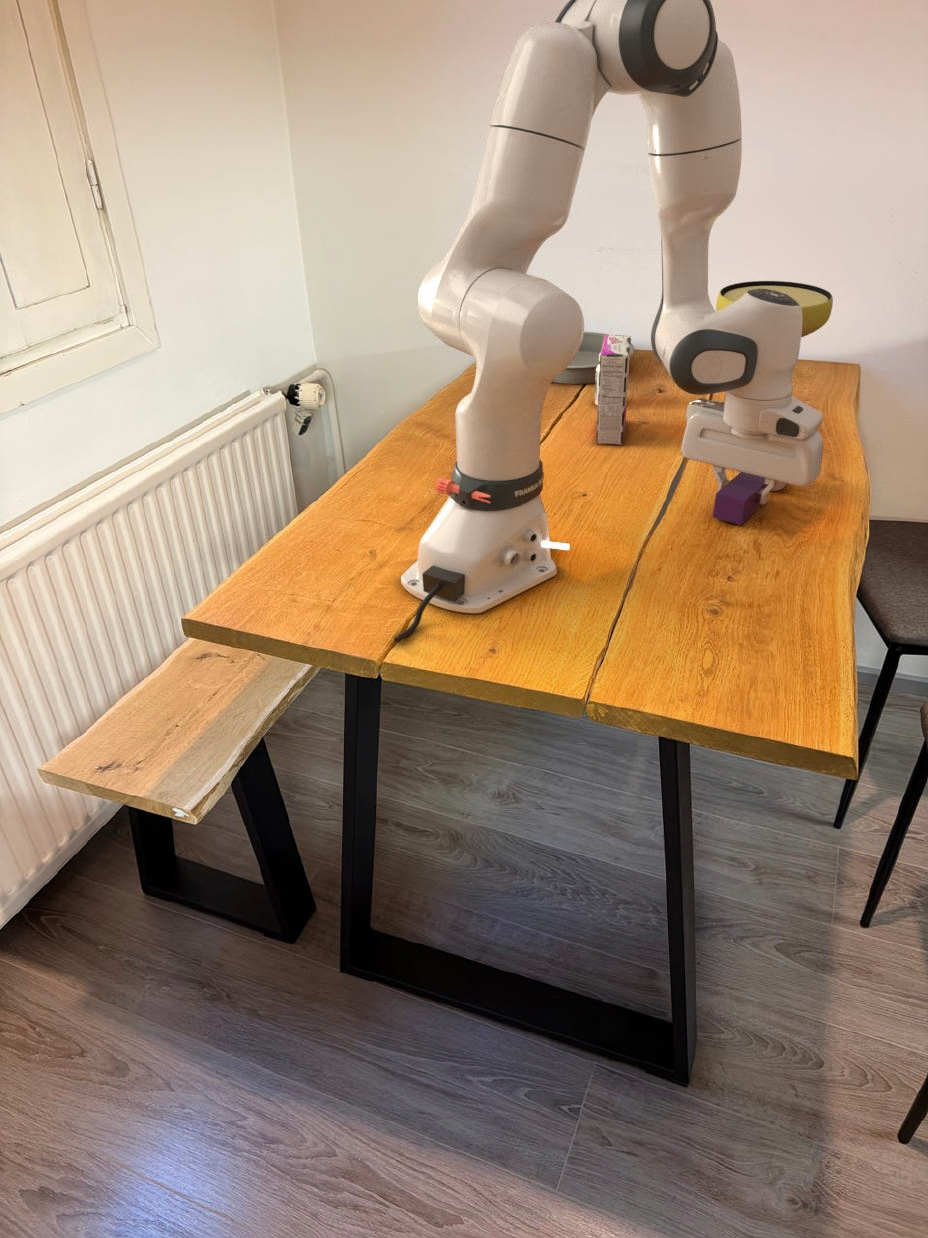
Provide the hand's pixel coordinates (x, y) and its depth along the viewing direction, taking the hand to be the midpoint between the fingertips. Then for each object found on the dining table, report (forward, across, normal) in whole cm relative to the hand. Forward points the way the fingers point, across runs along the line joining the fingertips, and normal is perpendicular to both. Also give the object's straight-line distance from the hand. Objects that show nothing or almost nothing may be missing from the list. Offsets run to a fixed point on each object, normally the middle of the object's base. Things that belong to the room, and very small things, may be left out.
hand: (742, 497), depth 134 cm
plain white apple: (+3, 0, +11) cm, 11 cm away
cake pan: (+3, -57, +44) cm, 72 cm away
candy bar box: (+3, -32, +16) cm, 36 cm away
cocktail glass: (+3, -10, +28) cm, 30 cm away
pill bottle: (+3, -40, +29) cm, 49 cm away
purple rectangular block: (+2, 0, 0) cm, 2 cm away
